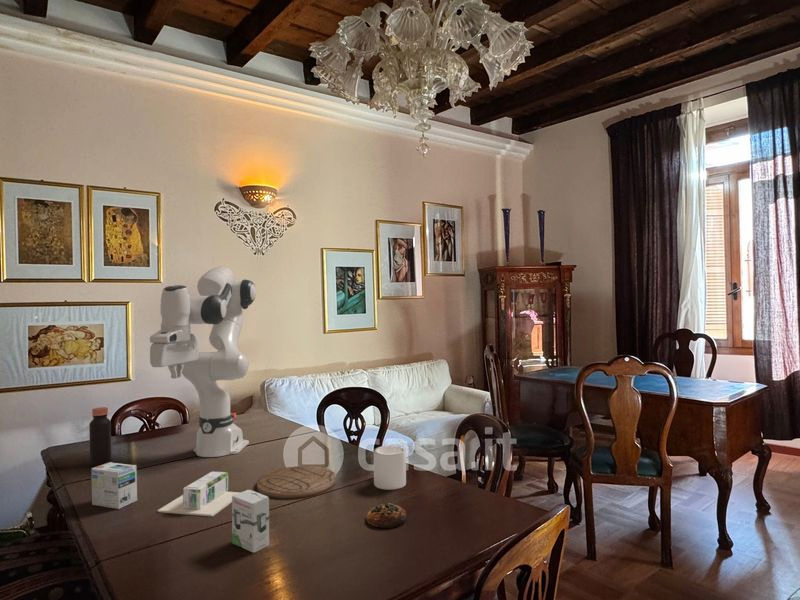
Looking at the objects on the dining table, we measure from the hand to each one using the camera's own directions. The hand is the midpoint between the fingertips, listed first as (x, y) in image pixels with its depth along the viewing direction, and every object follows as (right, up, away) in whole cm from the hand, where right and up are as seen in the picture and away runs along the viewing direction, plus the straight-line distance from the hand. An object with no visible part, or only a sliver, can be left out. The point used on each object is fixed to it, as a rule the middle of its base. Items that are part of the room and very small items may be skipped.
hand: (176, 377), depth 164 cm
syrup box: (+17, -31, -8) cm, 36 cm away
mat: (+15, -34, -17) cm, 41 cm away
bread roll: (+69, -34, -29) cm, 82 cm away
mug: (+69, -34, -2) cm, 77 cm away
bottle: (-37, -35, +21) cm, 55 cm away
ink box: (+37, -34, -42) cm, 65 cm away
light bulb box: (-11, -35, -16) cm, 40 cm away
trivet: (+40, -34, -2) cm, 52 cm away
